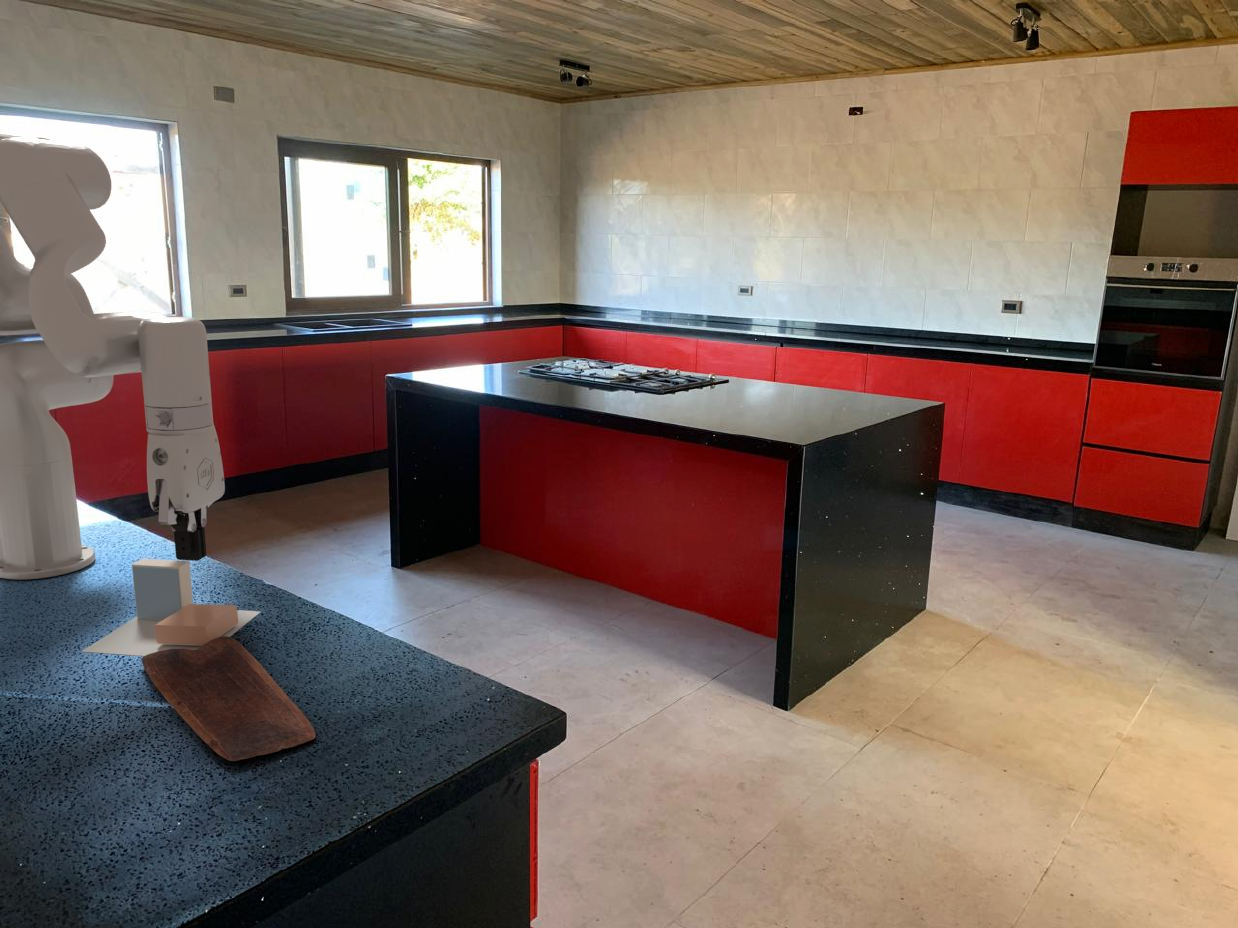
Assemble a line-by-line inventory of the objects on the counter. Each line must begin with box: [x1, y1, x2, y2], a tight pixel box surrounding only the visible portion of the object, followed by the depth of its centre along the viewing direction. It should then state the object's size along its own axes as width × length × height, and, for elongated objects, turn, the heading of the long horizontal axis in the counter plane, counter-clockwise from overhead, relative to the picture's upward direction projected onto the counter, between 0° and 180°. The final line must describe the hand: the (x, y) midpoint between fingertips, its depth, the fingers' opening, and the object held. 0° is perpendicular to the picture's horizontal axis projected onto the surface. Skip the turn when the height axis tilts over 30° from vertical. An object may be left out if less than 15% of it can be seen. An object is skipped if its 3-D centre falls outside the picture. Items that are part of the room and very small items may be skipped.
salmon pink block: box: [155, 603, 238, 646], centre depth 106 cm, size 6×2×7 cm
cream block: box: [131, 558, 194, 620], centre depth 110 cm, size 6×2×7 cm, turn 85°
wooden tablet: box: [140, 636, 317, 762], centre depth 92 cm, size 26×2×10 cm
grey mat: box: [81, 609, 261, 657], centre depth 107 cm, size 14×14×1 cm
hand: (191, 557), depth 116 cm, fingers closed
